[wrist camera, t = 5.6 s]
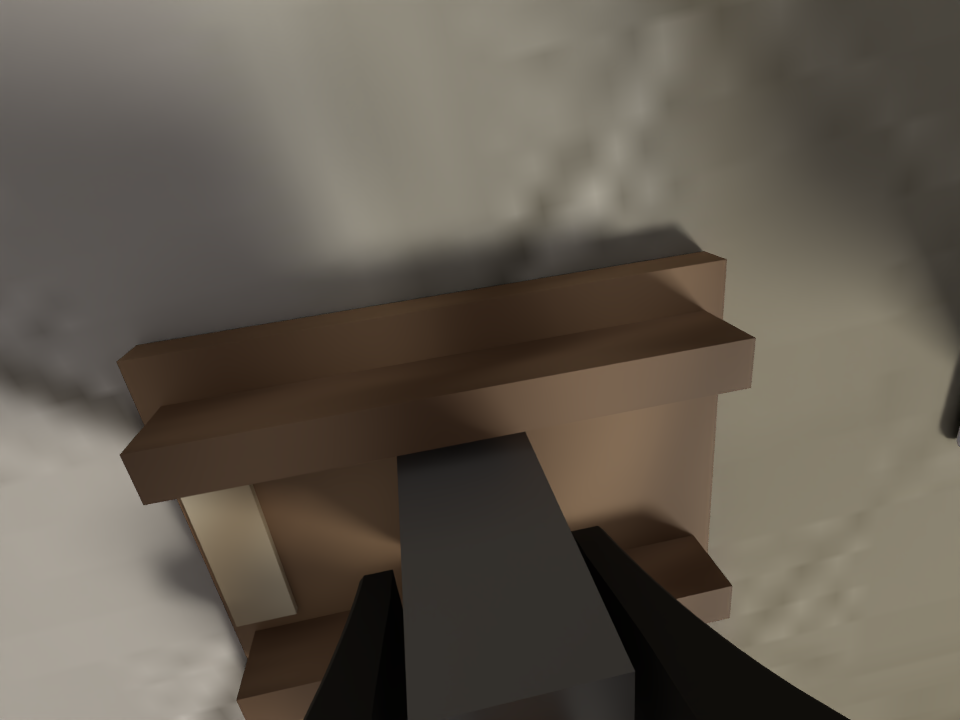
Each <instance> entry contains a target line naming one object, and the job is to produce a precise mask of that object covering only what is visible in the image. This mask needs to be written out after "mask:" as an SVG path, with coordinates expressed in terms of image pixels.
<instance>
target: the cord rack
mask: <svg viewBox="0 0 960 720" xmlns="http://www.w3.org/2000/svg"><path fill="white" fill-rule="evenodd" d="M726 263H727V259H724V258H721V257H718V256H716V255H713V254H710V253H707V252H705V251H703V252H697V253H691V254H685V255H679V256H673V257H667V258H661V259H655V260H649V261H643V262H637V263H631V264H624V265H618V266H612V267H606V268H600V269H594V270H588V271H582V272H576V273H570V274H564V275H558V276H552V277H546V278H540V279H534V280H528V281H522V282H516V283H510V284H504V285H498V286H492V287H485V288H479V289H473V290H467V291H461V292H455V293H449V294H443V295H437V296H431V297H425V298H419V299H413V300H407V301H401V302H395V303H389V304H383V305H377V306H371V307H365V308H359V309H353V310H346V311H340V312H334V313H328V314H322V315H316V316H310V317H304V318H298V319H292V320H286V321H280V322H274V323H268V324H262V325H256V326H250V327H244V328H238V329H232V330H226V331H220V332H214V333H208V334H201V335H195V336H189V337H183V338H177V339H171V340H165V341H159V342H153V343H147V344H141V345H136V346H135V347H134V348H133V349H131V350H130V351H129V352H128V353H127V354H125V355H124V356H123V357H122V358H121V359H119V360H118V361H117V364H118V367H119V369H120V371H121V373H122V376H123V378H124V380H125V382H126V385H127V387H128V389H129V391H130V394H131V396H132V398H133V401H134V403H135V405H136V407H137V410H138V412H139V414H140V416H141V419H142V421H143V423H144V425H145V426H144V427H143V428H142V429H141V430H140V432H139V433H138V434H137V435H136V436H135V438H134V439H133V440H132V441H131V442H130V443H129V445H128V446H127V447H126V448H125V449H124V450H123V452H122V453H121V454H120V456H121V459H122V461H123V463H124V465H125V467H126V469H127V471H128V473H129V475H130V478H131V480H132V482H133V484H134V486H135V488H136V490H137V492H138V494H139V496H140V499H141V501H142V503H143V505H147V504H152V503H157V502H163V501H168V500H173V499H177V500H178V503H179V505H180V507H181V509H182V512H183V514H184V516H185V518H186V521H187V523H188V525H189V528H190V530H191V532H192V534H193V537H194V539H195V541H196V543H197V546H198V548H199V550H200V552H201V555H202V557H203V559H204V562H205V564H206V566H207V568H208V571H209V573H210V575H211V577H212V580H213V582H214V584H215V587H216V589H217V591H218V593H219V596H220V598H221V600H222V602H223V605H224V607H225V609H226V611H227V614H228V616H229V618H230V621H231V623H232V625H233V627H234V630H235V632H236V634H237V636H238V639H239V641H240V643H241V645H242V648H243V650H244V652H245V655H246V657H247V663H246V667H245V671H244V674H243V678H242V682H241V685H240V689H239V693H238V696H237V700H236V701H237V703H238V705H239V707H240V709H241V711H242V713H243V715H244V717H245V720H303V719H304V717H305V715H306V713H307V710H308V708H309V706H310V704H311V702H312V700H313V698H314V696H315V694H316V692H317V690H318V688H319V685H320V683H321V681H322V679H323V677H324V675H325V672H326V670H327V668H328V665H329V663H330V661H331V658H332V656H333V653H334V651H335V649H336V646H337V644H338V642H339V639H340V637H341V634H342V631H343V629H344V626H345V624H346V621H347V618H348V616H349V613H350V610H351V607H352V604H353V601H354V598H355V595H356V592H357V589H358V585H359V582H360V580H361V579H362V578H363V576H364V575H369V574H374V573H378V572H383V571H388V570H392V569H393V572H394V576H395V580H396V584H397V588H398V592H399V596H400V600H401V604H402V608H403V594H402V570H401V545H400V521H399V497H398V473H397V456H401V455H406V454H411V453H416V452H421V451H426V450H432V449H437V448H442V447H447V446H452V445H458V444H463V443H468V442H473V441H478V440H483V439H489V438H494V437H499V436H504V435H509V434H514V433H520V432H526V434H527V436H528V439H529V441H530V443H531V445H532V447H533V450H534V452H535V454H536V456H537V458H538V460H539V463H540V465H541V467H542V469H543V471H544V474H545V476H546V478H547V480H548V482H549V484H550V487H551V489H552V491H553V493H554V495H555V498H556V500H557V502H558V504H559V506H560V509H561V511H562V513H563V515H564V517H565V519H566V522H567V524H568V526H569V528H570V530H571V531H575V530H580V529H585V528H589V527H594V526H599V527H601V528H602V529H603V530H604V531H605V532H606V533H607V534H608V535H609V536H610V537H611V538H612V539H613V540H614V541H615V542H616V543H617V544H618V545H619V546H620V547H621V548H622V549H623V550H624V551H625V552H626V553H627V554H628V555H629V556H630V557H631V558H632V559H633V560H634V561H635V562H636V563H637V564H638V565H639V566H640V567H641V568H642V569H643V570H644V571H645V572H647V573H648V574H649V575H650V576H651V577H652V578H653V579H654V580H655V581H656V582H658V583H659V584H660V585H661V586H662V587H663V588H664V589H665V590H667V591H668V592H669V593H670V594H671V595H672V596H673V597H674V598H676V599H677V600H678V601H679V602H680V603H681V604H683V605H684V606H685V607H686V608H687V609H689V610H690V611H691V612H692V613H693V614H695V615H696V616H697V617H698V618H700V619H701V620H702V621H703V622H705V623H710V622H714V621H718V620H722V619H727V618H730V607H731V596H732V585H731V583H730V582H729V581H728V580H727V578H726V577H725V576H724V574H723V573H722V572H721V570H720V569H719V568H718V567H717V565H716V564H715V563H714V561H713V560H712V559H711V557H710V556H709V555H708V538H709V523H710V507H711V492H712V477H713V461H714V446H715V431H716V416H717V400H718V394H722V393H727V392H732V391H737V390H742V389H747V388H751V382H752V371H753V361H754V350H755V339H756V338H755V337H753V336H751V335H749V334H747V333H746V332H744V331H742V330H740V329H738V328H736V327H735V326H733V325H731V324H729V323H727V322H725V321H724V320H723V309H724V293H725V278H726Z"/></svg>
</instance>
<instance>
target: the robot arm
mask: <svg viewBox="0 0 960 720" xmlns="http://www.w3.org/2000/svg"><path fill="white" fill-rule="evenodd" d="M957 444H958V446H959V447H960V428H959V431H958V435H957ZM571 533H572V535H573V537H574V539H575V541H576V543H577V546H578V548H579V550H580V552H581V554H582V557H583V559H584V561H585V563H586V565H587V568H588V570H589V572H590V574H591V576H592V578H593V581H594V583H595V585H596V587H597V589H598V592H599V594H600V596H601V598H602V600H603V602H604V605H605V607H606V609H607V611H608V613H609V616H610V618H611V620H612V622H613V624H614V627H615V629H616V631H617V633H618V635H619V637H620V640H621V642H622V644H623V646H624V648H625V651H626V653H627V655H628V657H629V659H630V661H631V664H632V666H633V668H634V670H635V713H634V720H850V719H848V718H846V717H845V716H843V715H841V714H840V713H838V712H836V711H835V710H833V709H831V708H830V707H828V706H826V705H825V704H823V703H821V702H820V701H818V700H816V699H815V698H813V697H811V696H810V695H808V694H806V693H805V692H803V691H801V690H799V689H798V688H796V687H795V686H793V685H791V684H790V683H788V682H787V681H785V680H784V679H782V678H781V677H779V676H778V675H776V674H775V673H773V672H772V671H770V670H769V669H767V668H766V667H764V666H763V665H761V664H760V663H759V662H757V661H756V660H754V659H753V658H751V657H750V656H749V655H747V654H746V653H744V652H743V651H741V650H740V649H739V648H737V647H736V646H735V645H733V644H732V643H731V642H729V641H728V640H726V639H725V638H724V637H723V636H721V635H720V634H719V633H717V632H716V631H715V630H713V629H712V628H711V627H710V626H708V625H707V624H706V623H705V622H703V621H702V620H701V619H700V618H698V617H697V616H696V615H695V614H693V613H692V612H691V611H690V610H689V609H687V608H686V607H685V606H684V605H683V604H681V603H680V602H679V601H678V600H677V599H676V598H674V597H673V596H672V595H671V594H670V593H669V592H668V591H667V590H665V589H664V588H663V587H662V586H661V585H660V584H659V583H658V582H656V581H655V580H654V579H653V578H652V577H651V576H650V575H649V574H648V573H647V572H645V571H644V570H643V569H642V568H641V567H640V566H639V565H638V564H637V563H636V562H635V561H634V560H633V559H632V558H631V557H630V556H629V555H628V554H627V553H626V552H625V551H624V550H623V549H622V548H621V547H620V546H619V545H618V544H617V543H616V542H615V541H614V540H613V539H612V538H611V537H610V536H609V535H608V534H607V533H606V532H605V531H604V530H603V529H602V528H601V527H599V526H594V527H589V528H585V529H580V530H575V531H571ZM303 720H408V715H407V691H406V667H405V642H404V618H403V608H402V604H401V600H400V596H399V592H398V588H397V584H396V580H395V576H394V572H393V569H392V570H388V571H383V572H378V573H374V574H369V575H364V576H363V578H362V579H361V580H360V582H359V585H358V589H357V592H356V595H355V598H354V601H353V604H352V607H351V610H350V613H349V616H348V618H347V621H346V624H345V626H344V629H343V631H342V634H341V637H340V639H339V642H338V644H337V646H336V649H335V651H334V653H333V656H332V658H331V661H330V663H329V665H328V668H327V670H326V672H325V675H324V677H323V679H322V681H321V683H320V685H319V688H318V690H317V692H316V694H315V696H314V698H313V700H312V702H311V704H310V706H309V708H308V710H307V713H306V715H305V717H304V719H303Z"/></svg>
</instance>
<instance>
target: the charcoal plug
mask: <svg viewBox="0 0 960 720" xmlns="http://www.w3.org/2000/svg"><path fill="white" fill-rule="evenodd" d="M397 473H398V497H399V521H400V545H401V570H402V594H403V618H404V642H405V667H406V691H407V715H408V720H634V713H635V670H634V668H633V666H632V664H631V661H630V659H629V657H628V655H627V653H626V651H625V648H624V646H623V644H622V642H621V640H620V637H619V635H618V633H617V631H616V629H615V627H614V624H613V622H612V620H611V618H610V616H609V613H608V611H607V609H606V607H605V605H604V602H603V600H602V598H601V596H600V594H599V592H598V589H597V587H596V585H595V583H594V581H593V578H592V576H591V574H590V572H589V570H588V568H587V565H586V563H585V561H584V559H583V557H582V554H581V552H580V550H579V548H578V546H577V543H576V541H575V539H574V537H573V535H572V533H571V530H570V528H569V526H568V524H567V522H566V519H565V517H564V515H563V513H562V511H561V509H560V506H559V504H558V502H557V500H556V498H555V495H554V493H553V491H552V489H551V487H550V484H549V482H548V480H547V478H546V476H545V474H544V471H543V469H542V467H541V465H540V463H539V460H538V458H537V456H536V454H535V452H534V450H533V447H532V445H531V443H530V441H529V439H528V436H527V434H526V432H520V433H514V434H509V435H504V436H499V437H494V438H489V439H483V440H478V441H473V442H468V443H463V444H458V445H452V446H447V447H442V448H437V449H432V450H426V451H421V452H416V453H411V454H406V455H401V456H397Z"/></svg>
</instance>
